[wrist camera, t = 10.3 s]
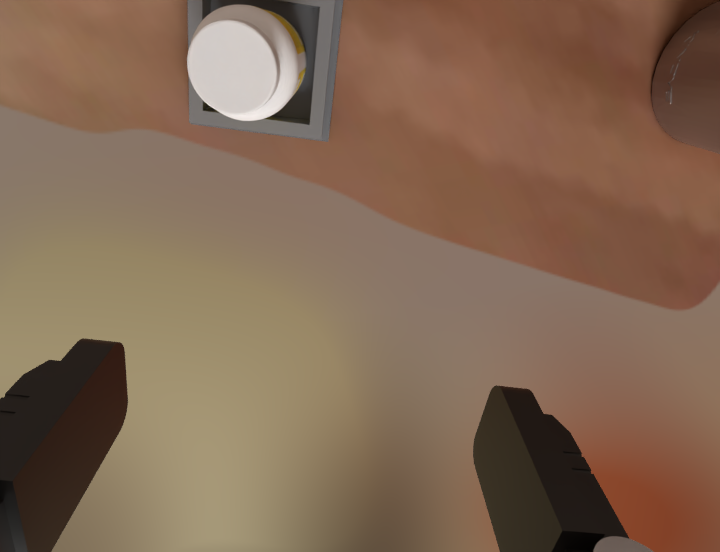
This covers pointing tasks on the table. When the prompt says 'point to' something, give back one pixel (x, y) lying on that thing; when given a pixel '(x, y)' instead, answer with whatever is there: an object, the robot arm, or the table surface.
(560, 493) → the robot arm
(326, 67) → the square open box
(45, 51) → the table surface
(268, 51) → the supplement bottle
